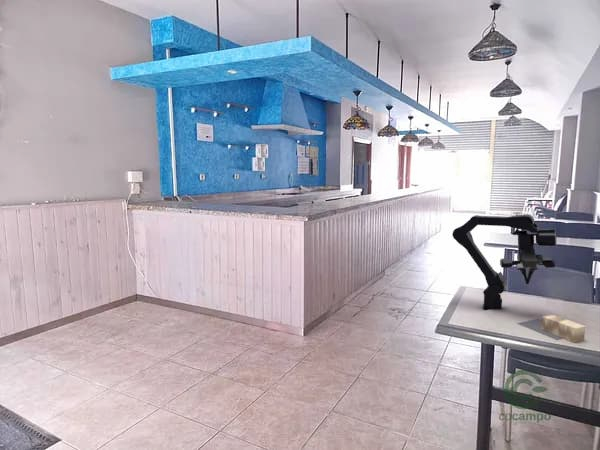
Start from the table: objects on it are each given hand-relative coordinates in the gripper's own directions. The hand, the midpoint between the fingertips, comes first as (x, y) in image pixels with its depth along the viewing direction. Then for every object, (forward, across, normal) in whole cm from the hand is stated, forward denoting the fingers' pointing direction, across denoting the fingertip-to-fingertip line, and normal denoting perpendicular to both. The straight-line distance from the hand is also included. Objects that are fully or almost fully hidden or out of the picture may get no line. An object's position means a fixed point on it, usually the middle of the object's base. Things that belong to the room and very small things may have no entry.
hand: (527, 283), depth 159 cm
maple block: (+11, +4, -14) cm, 18 cm away
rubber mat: (+14, +4, -15) cm, 20 cm away
